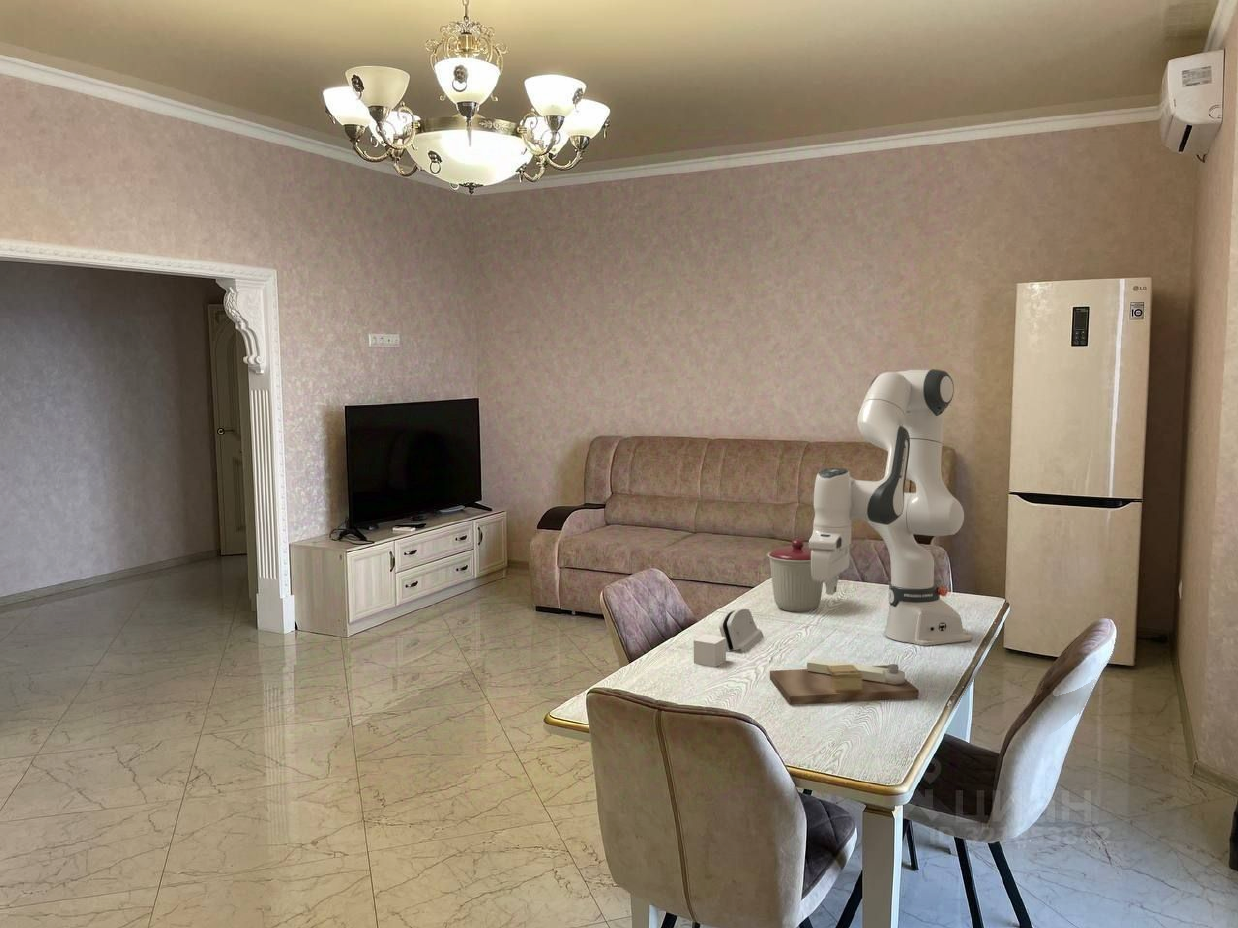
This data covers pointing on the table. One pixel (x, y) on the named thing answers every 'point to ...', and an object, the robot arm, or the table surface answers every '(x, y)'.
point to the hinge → (739, 630)
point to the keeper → (845, 678)
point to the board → (818, 690)
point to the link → (862, 671)
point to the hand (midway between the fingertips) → (831, 593)
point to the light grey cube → (709, 650)
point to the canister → (794, 578)
